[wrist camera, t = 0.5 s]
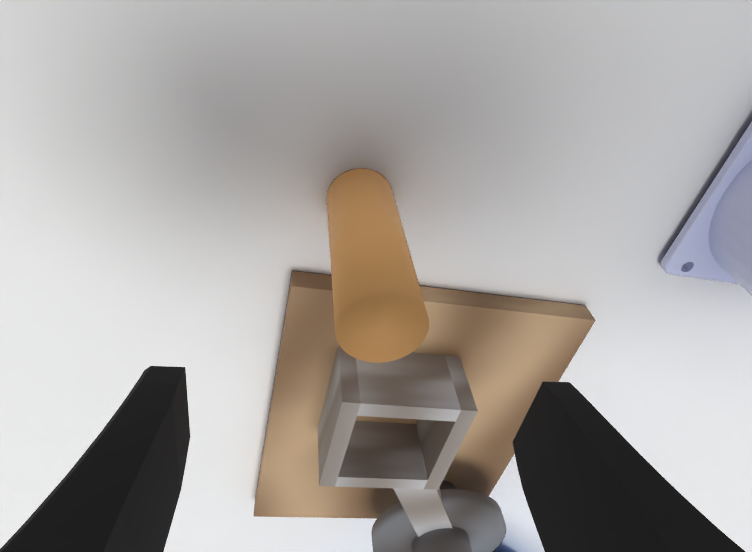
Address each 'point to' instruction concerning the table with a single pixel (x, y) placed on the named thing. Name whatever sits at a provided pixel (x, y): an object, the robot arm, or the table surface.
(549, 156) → the table surface
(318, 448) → the wooden board with socket
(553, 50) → the table surface
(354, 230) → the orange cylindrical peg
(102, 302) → the table surface
